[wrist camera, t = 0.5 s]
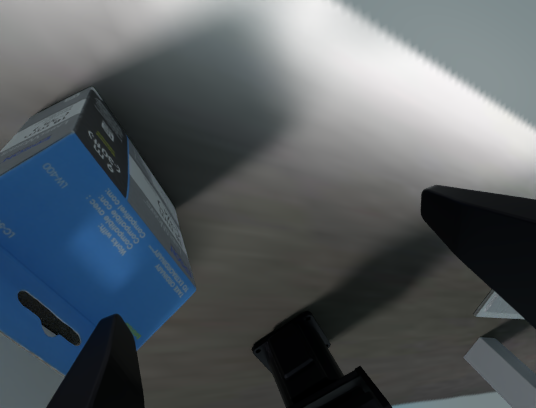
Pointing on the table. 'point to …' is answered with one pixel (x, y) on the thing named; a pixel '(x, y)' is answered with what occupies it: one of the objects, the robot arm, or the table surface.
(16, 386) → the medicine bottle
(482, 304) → the case
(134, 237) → the label tape cartridge
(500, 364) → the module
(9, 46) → the table surface
